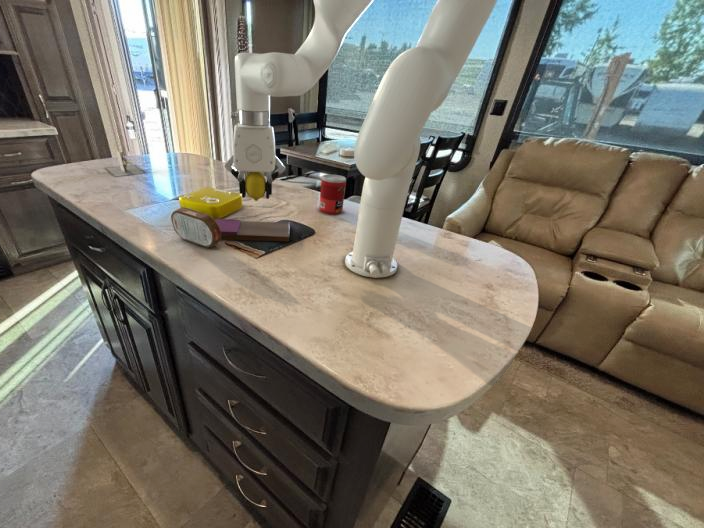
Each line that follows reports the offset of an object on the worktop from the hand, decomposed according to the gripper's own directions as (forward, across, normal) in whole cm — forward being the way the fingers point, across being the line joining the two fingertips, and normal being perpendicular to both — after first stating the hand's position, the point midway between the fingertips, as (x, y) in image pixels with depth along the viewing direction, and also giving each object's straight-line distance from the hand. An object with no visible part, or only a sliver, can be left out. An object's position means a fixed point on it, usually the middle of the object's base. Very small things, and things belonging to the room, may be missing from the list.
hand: (256, 196), depth 86 cm
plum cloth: (+9, -8, 0) cm, 12 cm away
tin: (+11, -15, -8) cm, 20 cm away
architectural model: (+11, -61, +61) cm, 87 cm away
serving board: (+10, -2, 0) cm, 11 cm away
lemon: (+1, 0, 0) cm, 1 cm away
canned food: (+11, +23, +21) cm, 33 cm away
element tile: (+11, -16, +18) cm, 26 cm away
